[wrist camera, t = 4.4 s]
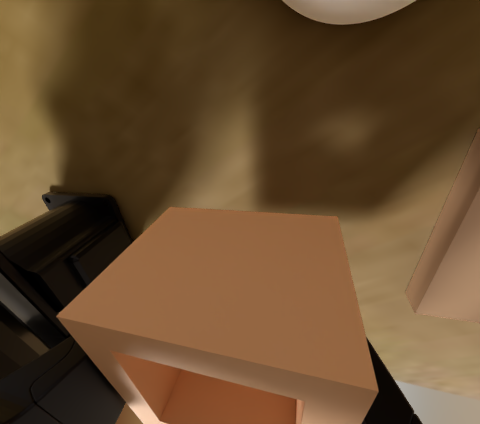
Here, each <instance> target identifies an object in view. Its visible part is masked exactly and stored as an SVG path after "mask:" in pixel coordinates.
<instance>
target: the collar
mask: <svg viewBox="0 0 480 424" xmlns="http://www.w3.org/2000/svg"><path fill="white" fill-rule="evenodd" d="M56 317H57V318H58V319H59V321H60V322H61V323H62V324H63V325H64V327H65V328H66V329H67V330H68V332H69V333H70V334H71V335H72V337H73V338H74V339H75V340H76V341H77V343H78V344H79V345H80V346H81V348H82V349H83V350H84V351H85V352H86V354H87V355H88V356H89V357H90V359H91V360H92V361H93V362H94V364H95V365H96V366H97V367H98V368H99V370H100V371H101V372H102V373H103V375H104V376H105V377H106V378H107V380H108V381H109V382H110V383H111V384H112V386H113V387H114V388H115V389H116V391H117V392H118V393H119V394H120V395H121V397H122V398H123V399H124V400H125V402H126V403H127V404H128V405H129V407H131V409H132V410H133V411H134V413H135V414H136V415H137V416H138V418H139V419H140V420H141V421H142V423H144V424H362V422H363V420H364V418H365V416H366V414H367V412H368V411H369V409H370V407H371V405H372V403H373V401H374V399H375V398H376V396H377V394H378V392H379V390H378V386H377V382H376V377H375V373H374V369H373V365H372V360H371V356H370V352H369V348H368V343H367V339H366V335H365V331H364V326H363V322H362V318H361V314H360V310H359V305H358V301H357V297H356V293H355V288H354V284H353V280H352V276H351V271H350V267H349V263H348V259H347V254H346V250H345V246H344V242H343V237H342V233H341V229H340V225H339V220H338V216H321V215H304V214H286V213H269V212H251V211H234V210H216V209H199V208H181V207H169V208H168V209H167V210H166V211H165V212H164V213H163V214H162V215H161V216H160V217H159V218H158V219H157V220H156V221H155V222H154V223H153V224H152V225H151V226H149V227H148V228H147V229H146V230H145V231H144V232H143V233H142V234H141V235H140V236H139V237H138V238H137V239H136V240H135V241H134V242H133V243H132V244H131V245H130V246H129V247H128V248H127V249H126V250H125V251H124V252H122V253H121V254H120V255H119V256H118V257H117V258H116V259H115V260H114V261H113V262H112V263H111V264H110V265H109V266H108V267H107V268H106V269H105V270H104V271H103V272H102V273H101V274H100V275H99V276H98V277H96V278H95V279H94V280H93V281H92V282H91V283H90V284H89V285H88V286H87V287H86V288H85V289H84V290H83V291H82V292H81V293H80V294H79V295H78V296H77V297H76V298H75V299H74V300H73V301H72V302H71V303H69V304H68V305H67V306H66V307H65V308H64V309H63V310H62V311H61V312H60V313H59V314H58V315H57V316H56Z"/></svg>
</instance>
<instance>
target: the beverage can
mask: <svg viewBox="0 0 480 424" xmlns="http://www.w3.org/2000/svg"><path fill="white" fill-rule="evenodd" d="M282 1H283V2H285V3H286V4H287V5H288V6H289V7H291V8H292V9H293V10H295V11H296V12H298V13H300V14H301V15H303V16H305V17H308V18H310V19H312V20H315V21H319V22H323V23H328V24H338V25H345V24H357V23H363V22H367V21H371V20H375V19H378V18H381V17H384V16H386V15H389V14H391V13H393V12H396V11H398V10H400V9H402V8H404V7H406V6H407V5H409V4H411V3H413V2H414V1H416V0H282Z"/></svg>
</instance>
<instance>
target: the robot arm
mask: <svg viewBox="0 0 480 424" xmlns="http://www.w3.org/2000/svg"><path fill="white" fill-rule="evenodd" d="M42 199H43V201H44V203H45V204H46V206H47V208H48V209H49V211H48V212H46V213H44V214H42V215H40V216H38V217H36V218H34V219H33V220H31V221H29V222H27V223H25V224H23V225H21V226H19V227H17V228H15V229H13V230H12V231H10V232H8V233H6V234H4V235H2V236H0V424H115V423H116V421H117V419H118V417H119V415H120V413H121V411H122V409H123V407H124V405H125V403H126V402H125V400H124V399H123V398H122V397H121V395H120V394H119V393H118V392H117V391H116V389H115V388H114V387H113V386H112V384H111V383H110V382H109V381H108V380H107V378H106V377H105V376H104V375H103V373H102V372H101V371H100V370H99V368H98V367H97V366H96V365H95V364H94V362H93V361H92V360H91V359H90V357H89V356H88V355H87V354H86V352H85V351H84V350H83V349H82V348H81V346H80V345H79V344H78V343H77V341H76V340H75V339H74V338H73V337H72V335H71V334H70V333H69V332H68V330H67V329H66V328H65V327H64V325H63V324H62V323H61V322H60V321H59V319H58V318H57V317H56V316H57V315H58V314H59V312H61V311H62V310H63V309H64V308H65V307H66V306H67V305H68V304H69V303H71V302H72V301H73V300H74V299H75V298H76V297H77V296H78V295H79V294H80V293H81V292H82V291H83V290H84V289H85V288H86V287H87V286H88V285H89V284H90V283H91V282H92V281H93V280H94V279H95V278H96V277H98V276H99V275H100V274H101V273H102V272H103V271H104V270H105V269H106V268H107V267H108V266H109V265H110V264H111V263H112V262H113V261H114V260H115V259H116V258H117V257H118V256H119V255H120V254H121V253H122V252H124V251H125V250H126V249H127V248H128V247H129V246H130V245H131V244H132V240H131V238H130V236H129V233H128V231H127V228H126V226H125V224H124V221H123V219H122V216H121V214H120V212H119V209H118V207H117V204H116V202H115V200H114V199H113V198H112V197H111V196H110V195H101V194H79V193H56V192H48V193H46V194H43V195H42ZM366 339H367V337H366ZM367 343H368V348H369V352H370V356H371V360H372V365H373V369H374V373H375V377H376V382H377V386H378V390H379V392H378V394H377V396H376V398H375V399H374V401H373V403H372V405H371V407H370V409H369V411H368V412H367V414H366V416H365V418H364V420H363V422H362V424H422V422H421V421H420V419H419V417H418V416H417V415H416V414H414V410H413V408H412V407H411V405H410V404H409V402H408V401H407V399H406V398H405V396H404V394H403V393H402V391H401V390H400V388H399V387H398V385H397V384H396V382H395V380H394V379H393V377H392V376H391V374H390V373H389V371H388V370H387V368H386V367H385V365H384V363H383V362H382V360H381V359H380V357H379V356H378V354H377V353H376V351H375V349H374V348H373V346H372V345H371V343H370V342H369V340H368V339H367Z"/></svg>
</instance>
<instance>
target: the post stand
mask: <svg viewBox="0 0 480 424" xmlns="http://www.w3.org/2000/svg"><path fill="white" fill-rule="evenodd" d="M405 293H406V295H407V297H408V300H409V302H410V304H411V306H412V308H413V310H414V312H415V314H422V315H429V316H436V317H442V318H449V319H456V320H463V321H470V322H477V323H480V128H478V130H477V132H476V135H475V137H474V139H473V141H472V144H471V146H470V148H469V150H468V153H467V155H466V157H465V159H464V162H463V164H462V166H461V168H460V171H459V173H458V175H457V177H456V180H455V182H454V184H453V186H452V189H451V191H450V193H449V195H448V198H447V200H446V202H445V204H444V207H443V209H442V211H441V213H440V216H439V218H438V220H437V222H436V225H435V227H434V229H433V231H432V234H431V236H430V238H429V240H428V243H427V245H426V247H425V249H424V252H423V254H422V256H421V258H420V261H419V263H418V265H417V267H416V270H415V272H414V274H413V276H412V279H411V281H410V283H409V285H408V288H407V290H406V292H405Z"/></svg>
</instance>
